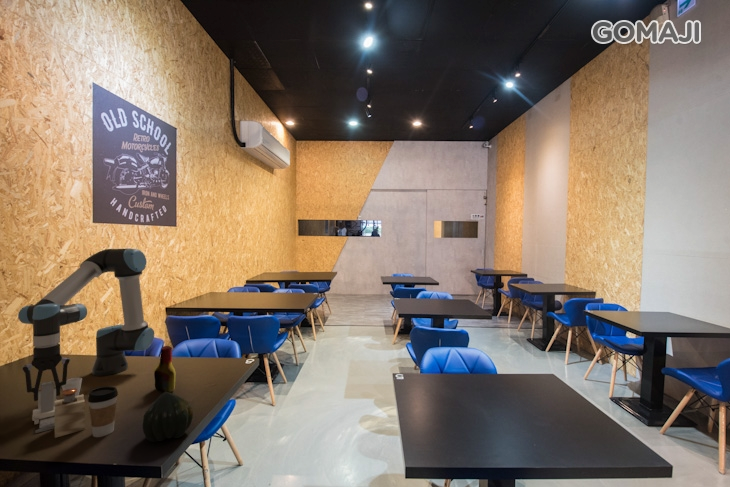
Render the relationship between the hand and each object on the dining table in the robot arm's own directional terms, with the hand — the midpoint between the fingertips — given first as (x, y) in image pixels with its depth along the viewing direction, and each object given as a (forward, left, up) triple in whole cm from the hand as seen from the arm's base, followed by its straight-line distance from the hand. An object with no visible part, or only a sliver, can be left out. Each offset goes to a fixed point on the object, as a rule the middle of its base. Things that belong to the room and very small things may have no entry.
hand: (47, 406), depth 130 cm
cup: (-6, -15, -5) cm, 17 cm away
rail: (0, +2, -5) cm, 5 cm away
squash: (-31, +45, -5) cm, 55 cm away
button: (-6, +16, +2) cm, 17 cm away
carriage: (0, 0, -5) cm, 5 cm away
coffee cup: (-15, +27, -5) cm, 31 cm away
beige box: (-6, +16, -5) cm, 18 cm away
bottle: (-39, +2, -5) cm, 40 cm away
